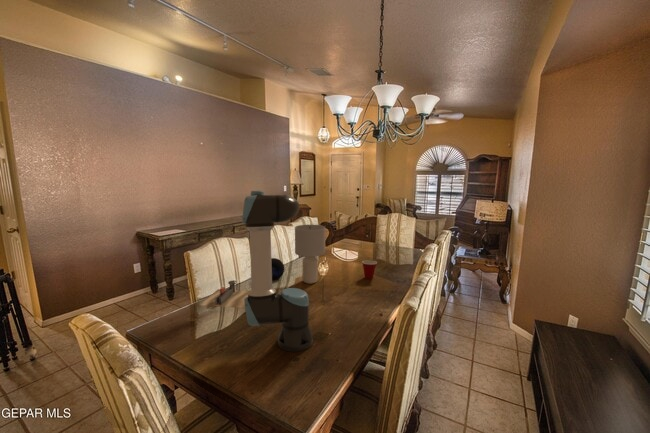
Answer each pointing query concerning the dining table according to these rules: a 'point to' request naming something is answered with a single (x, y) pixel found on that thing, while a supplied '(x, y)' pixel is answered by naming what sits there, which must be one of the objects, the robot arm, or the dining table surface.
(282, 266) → the decorative sphere
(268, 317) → the robot arm
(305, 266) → the lamp
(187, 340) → the dining table surface
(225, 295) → the grey lever with knob
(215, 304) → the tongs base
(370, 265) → the plastic cup
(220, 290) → the tab
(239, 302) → the board
